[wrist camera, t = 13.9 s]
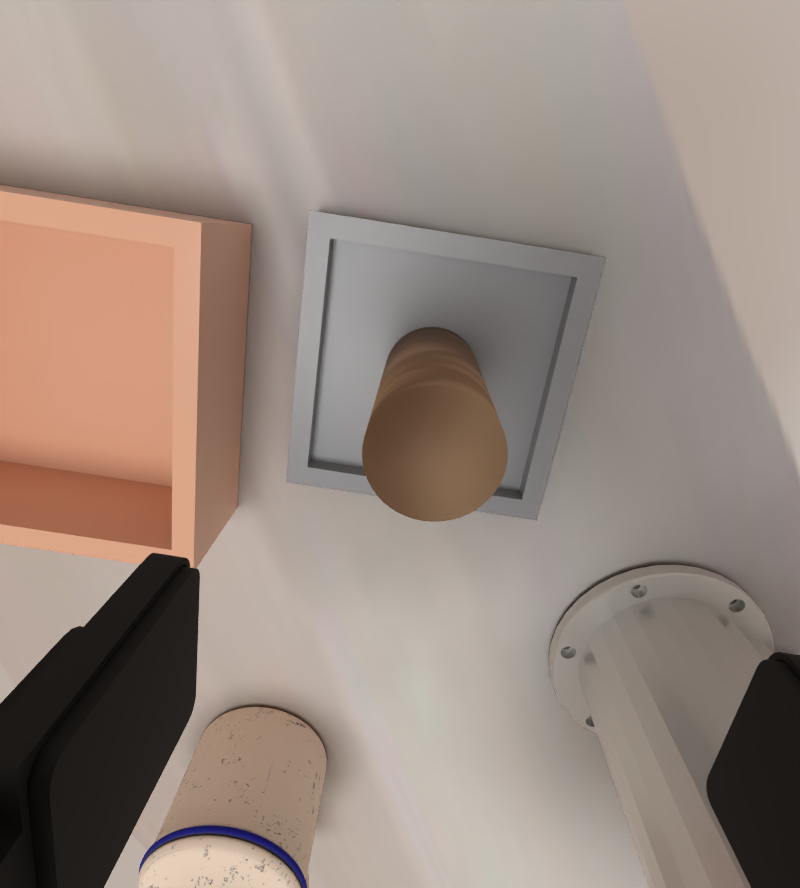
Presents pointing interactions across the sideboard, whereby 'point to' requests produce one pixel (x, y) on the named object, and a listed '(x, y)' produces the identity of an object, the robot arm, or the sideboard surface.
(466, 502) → the walnut dowel
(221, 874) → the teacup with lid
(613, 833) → the sideboard surface
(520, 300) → the grey tray
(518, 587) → the sideboard surface
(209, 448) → the terracotta open box
